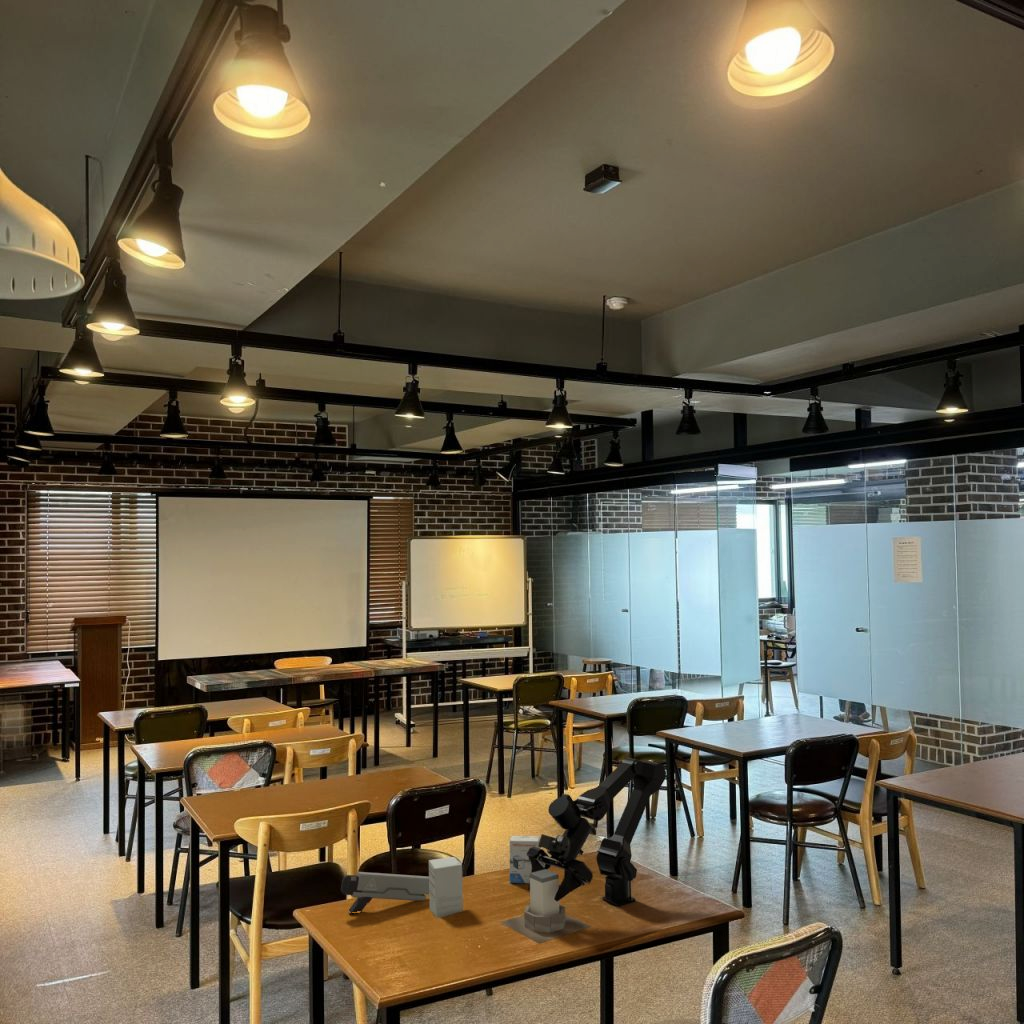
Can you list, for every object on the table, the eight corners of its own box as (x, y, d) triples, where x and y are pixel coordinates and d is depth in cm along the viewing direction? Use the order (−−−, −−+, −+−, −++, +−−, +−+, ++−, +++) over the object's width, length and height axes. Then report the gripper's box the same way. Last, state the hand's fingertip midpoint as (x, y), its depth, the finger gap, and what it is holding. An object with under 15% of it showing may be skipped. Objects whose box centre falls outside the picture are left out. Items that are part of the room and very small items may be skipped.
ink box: (509, 883, 248) (508, 840, 249) (511, 877, 253) (510, 835, 254) (539, 884, 247) (538, 841, 248) (541, 877, 252) (540, 835, 253)
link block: (546, 918, 218) (545, 869, 219) (559, 924, 214) (558, 874, 215) (530, 923, 215) (529, 873, 216) (543, 930, 211) (542, 878, 212)
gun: (334, 910, 227) (342, 870, 229) (423, 915, 238) (430, 876, 239) (337, 913, 225) (345, 873, 226) (427, 918, 235) (434, 879, 237)
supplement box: (456, 905, 232) (455, 856, 233) (463, 915, 225) (462, 864, 226) (428, 909, 230) (428, 859, 231) (435, 919, 223) (434, 868, 224)
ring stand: (550, 911, 226) (550, 893, 226) (591, 931, 213) (591, 911, 213) (499, 927, 217) (499, 907, 217) (539, 948, 204) (538, 927, 204)
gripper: (531, 814, 227) (499, 868, 219) (583, 828, 213) (551, 886, 205) (553, 839, 231) (523, 892, 223) (606, 854, 218) (576, 912, 209)
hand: (542, 895), depth 215 cm, fingers open, 9 cm apart
